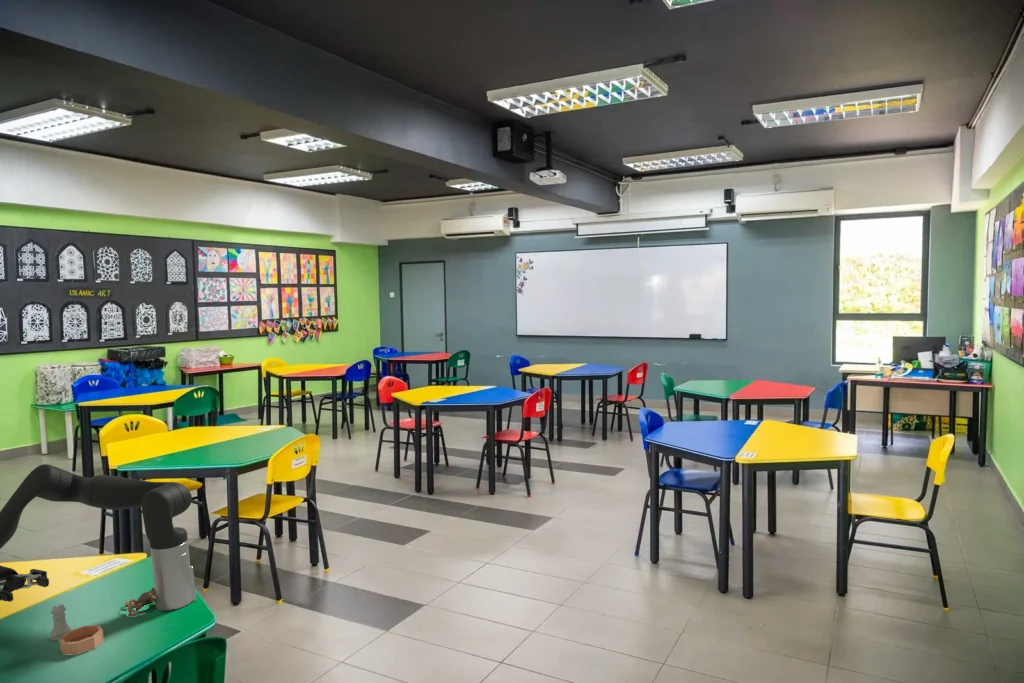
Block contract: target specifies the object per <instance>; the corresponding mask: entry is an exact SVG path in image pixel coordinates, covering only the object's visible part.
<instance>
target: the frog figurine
mask: <svg viewBox="0 0 1024 683" xmlns="http://www.w3.org/2000/svg"><path fill="white" fill-rule="evenodd" d="M151 602H152V603H155V604H156V597H155V587H152V588H151V589H150V590H149V591H145V592H142V593H141V594H140V595H139V597H138V599H137V600H136V599H135V598H133V599H130V600H128V601H127V600H125V603H124V607H128V609H127V610H128V612H129V614H128V616H129V617H128V616H127V617H128V618H130V617H133V618H135V617H134V616H137V615H140V616H143V615H142V614H144V615H146V614H145V613H146V612H140V613H141V614H140V613H137V612H138V610H139V609H141V608H142V607H143V606H144V605H147V604H149V603H151ZM131 605H132V606H131ZM132 608H136V611H135V610H131V609H132ZM137 617H138V616H137Z"/></svg>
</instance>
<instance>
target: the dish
mask: <svg viewBox="0 0 1024 683" xmlns="http://www.w3.org/2000/svg"><path fill="white" fill-rule="evenodd" d="M104 641H105V640H104V630H103V628H102V627H101V626H100V625H99V624H91V625H82V626H79V627H77V628H74V629H71V630H70V631H68V632H67V633H66V634H64V635H63V636H62V637H61V638H59V641H58V644H59V650H61V651H62V652H61V651H60V652H61V654H62V653H63V654H64V655H67V654H79V653H82V652H85V651H88V652H90V651H89V650H91V651H93V650H96V649H97V648H98V647H99V646H100V645H101V644H103V643H104ZM98 645H99V646H98ZM97 646H98V647H97ZM96 647H97V648H96ZM92 649H93V650H92ZM85 653H86V652H85ZM63 654H62V655H63ZM64 655H63V656H64Z"/></svg>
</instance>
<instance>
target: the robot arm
mask: <svg viewBox="0 0 1024 683" xmlns="http://www.w3.org/2000/svg"><path fill="white" fill-rule="evenodd" d="M35 498H39V499H43V500H45V501H49V502H55V503H56V502H58V503H61V502H63V503H65V502H67V503H81V504H83V505H86V506H88V507H93V508H98V509H103V510H110V511H114V510H115V511H119V510H129V509H138V508H141V514H142V519H143V525H144V531H145V532H144V533H145V535H146V538H147V539H148V542H149V546H150V547H149V548H150V558H151V566H152V577H153V586H154V587H155V599H156V605H155V607H156V608H157V609H156V610H159V611H163V612H164V611H165V610H166V611H173V609H174V610H177V609H180V608H183V607H186V606H188V605H189V604H191V603H192V602H194V601H197V593H196V585H195V584H196V583H195V574H194V567H193V565H191V559H190V550H189V548H190V547H189V539H188V532H187V530H186V529H185V528H184V527H179V526H177V527H176V526H175V527H174V524H173V519H172V518H175V517H178V516H179V515H182V514H183V513H184V512H185V511H187V510H188V509H189V508H190V506H191V505H192V502H193V496H192V493H191V491H190V489H189V488H188V487H187V486H186V485H184V484H182V483H180V482H176V481H148V480H142V479H135V478H128V477H121V476H117V475H116V476H115V475H111V474H110V475H108V474H99V475H98V474H97V475H94V476H92V477H87V476H83V475H78V474H76V473H72V472H71V471H68V470H65V469H62V468H61V467H60V468H59V467H57V466H54V465H52V464H47V463H45V464H44V463H43V464H40V465H38V466H36V467H35V468H33V470H31V471H30V473H28V475H26V477H24V479H23V480H22V482H21V483H20V484H19V486H18V487H17V489H16V490H15V491H14V492H13V494H12V495H11V496H10V498H9V499H8V500H7V502H6V503H5V504H4V506H3V507H2V508H1V509H0V550H1V549H2V548H3V547H4V546H5V545H6V544H7V543H8V542H9V541H10V540H11V539H12V537H14V535H15V534H16V532H17V529H18V527H19V523H20V519H21V517H22V516H21V515H22V514H23V512H24V509H25V508H26V507H27V506H28V505H29V503H30V502H31V501H33V500H34V499H35ZM26 583H27V584H26ZM49 585H50V579H49V578H48V571H46V570H41V569H36V568H31V569H29V573H25V574H24V573H18V571H16V570H15V569H13V568H12V567H7V566H3V565H0V601H3V602H9V603H11V602H13V601H14V595H13V592H15V591H18V590H21V589H30V588H31V587H34V586H38V587H43V588H47V587H49ZM154 587H153V588H154Z"/></svg>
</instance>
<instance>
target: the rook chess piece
mask: <svg viewBox="0 0 1024 683" xmlns="http://www.w3.org/2000/svg"><path fill="white" fill-rule="evenodd" d="M66 610H67V608H66V607H65V605H64V604H63V603H62V604H58V606H57V605H54V606H53V607H52V608H51V611H50V614H51V615H53V616H52V619H53V627H52V629H51V632H50V636H51V637H50V640H52V641H55V642H59V638H61V637H62V636H63V635H64V634H66V633H67V632H68V631H71V630H72V628H71V626H69V624H68V623H67V620H66V616H67V615H66V613H65V611H66Z"/></svg>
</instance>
